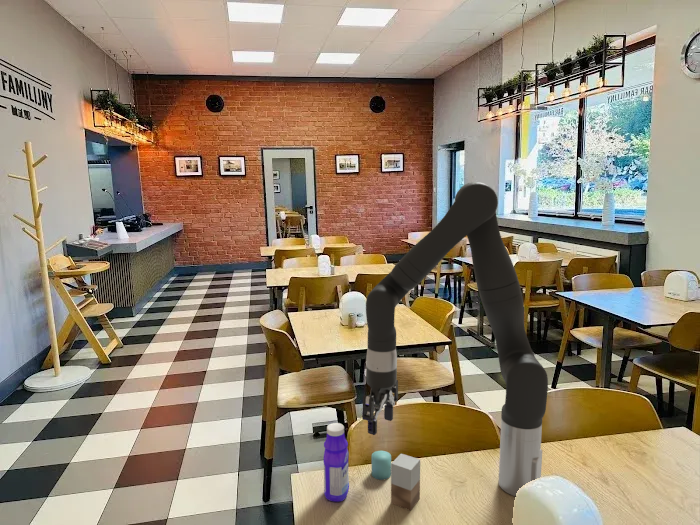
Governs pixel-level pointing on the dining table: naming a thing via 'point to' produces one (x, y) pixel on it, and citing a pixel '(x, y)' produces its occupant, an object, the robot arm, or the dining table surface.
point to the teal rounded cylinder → (381, 465)
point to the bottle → (336, 463)
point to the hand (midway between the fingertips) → (380, 426)
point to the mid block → (405, 471)
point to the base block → (405, 496)
